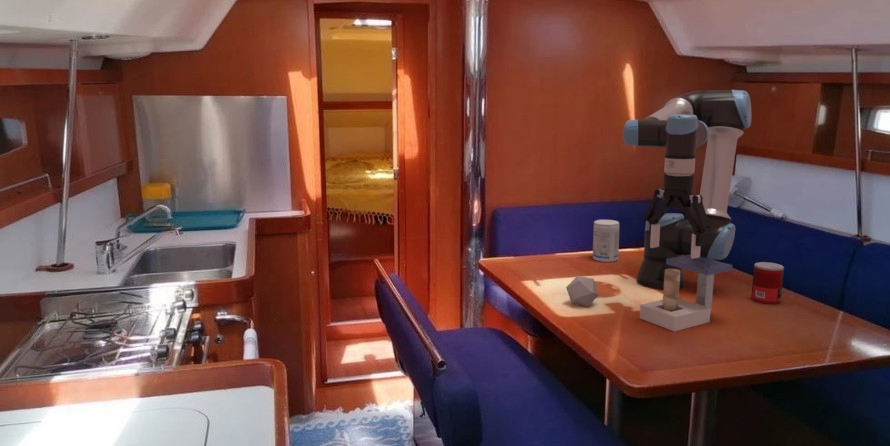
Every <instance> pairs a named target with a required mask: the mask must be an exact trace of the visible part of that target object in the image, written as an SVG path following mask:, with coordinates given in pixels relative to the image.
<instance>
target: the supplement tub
mask: <svg viewBox="0 0 890 446" xmlns="http://www.w3.org/2000/svg"><path fill="white" fill-rule="evenodd" d="M592 238H593V240H592V259H593V260H594V261H596V262H603V263H612V262H616V261H618V260H619V254H620V253H619V249H620V248H619V247H620V222H619V221H618V220H613V219H597V220H594V221H593V234H592Z"/></svg>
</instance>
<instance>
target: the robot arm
mask: <svg viewBox="0 0 890 446" xmlns="http://www.w3.org/2000/svg"><path fill="white" fill-rule="evenodd" d="M752 117H753V116H752V102H751V96H750V94H749V93H748V92H747V91H746V90H739V89H727V90H726V89H725V90H724V89H723V90H722V89H721V90H715V89H714V90H710V89H709V90H702V89H701V90H694V91H689V92H686V93H683V94H680V95H678V96H675V97H673V98H671V99H670V100H668V101H667V102H666V103H665V104H664V106H663V107H662V108H661V109H658V110H657V111H655V112H654V113H652V114H650V115H648V116H647V117H645V118H644V119H643V118H642V119H637V118H636V119H629V120H627V121H626V122H625V124H624V126H623V130H622V139H623V142H624V144H625V145H627V146H630V147H636V148H638V147H641V148H643V147H644V148H645V147H647V148H649V147H650V148H665V150H664V151H665V153H664V168H663V171H664V173H665V174H664V175H663V183H662V187H663V188H664V189H663V188H658V189H657V188H656V189H654V192H653V197H652V199H651V202H650V204H649V205H648V208H647V210H646V213H644V216H643V220H644V221H645V229H644V244H643V260H642V262H641V265H640V267H639V271H638V272H637V275H636V282H637V284H639V285H641V286H644V287H646V288H651V289H657V290H664V274H665V269H677V270H680V284H679V289H682V288H684V287H685V285H686V278H685V275H684V269H682V268H679V267H675V266H671V265H668V264H666V259H669V258H674V257H680V256H685V255H691V258H692V259H694V258H699V257H702V258H706V259H710V260H715V261H719V260H720V261H721V260H724V259H726V258H727V257H728V256H729V254H730V252H731V249H732V247H733V244H734V240H735V236H736V235H735V234H736V225H735V224H734V223H731V222H732V221H731V220H732V218H731V216H730V215H729V213H728V205H729V199H730V192H731V183H732V180H733V179H732V178H733V173H734V172H733V171H734V166H735V158H736V151H737V144H738V143H737V142H738V139H739V138H740V137H742V136H743V135H744V132H745V129H748V128H750V127H751V124H752ZM706 142H707V143H706ZM705 143H706V151H705V156H704V164H703V169H702V170H703V171H702V177H701V184H700V192H699V194H697V195H693V194H692V191H693V189H694V185H695V184H694V182H695V176H694V175H693V174H694V173H695V171H696V170H695V169H696V168H695V167H696V151H697V150H696V149H697V148H700V147H701V146H703V145H704V144H705ZM663 199H664V200H663ZM662 201H663V202H662ZM670 209H671V210H672V209H675V210H676V211H677V210H678V211H680V212H682V213H683V214H682V213H679V212H678V213H676V212H675V213H674V212H673V213H672V212H671V213H670V212H669V213H667V212H668V211H669V210H670ZM685 217H686V219H685Z"/></svg>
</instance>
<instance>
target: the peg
mask: <svg viewBox="0 0 890 446" xmlns="http://www.w3.org/2000/svg"><path fill="white" fill-rule="evenodd" d="M679 284H680V270H677V269H665V274H664V289H662V290H663V292H662V300H663V306H662V309H664V310H667V311H670V312H673V311H677V310H678V299H679V298H680V297H679V295H680V288H679Z"/></svg>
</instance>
